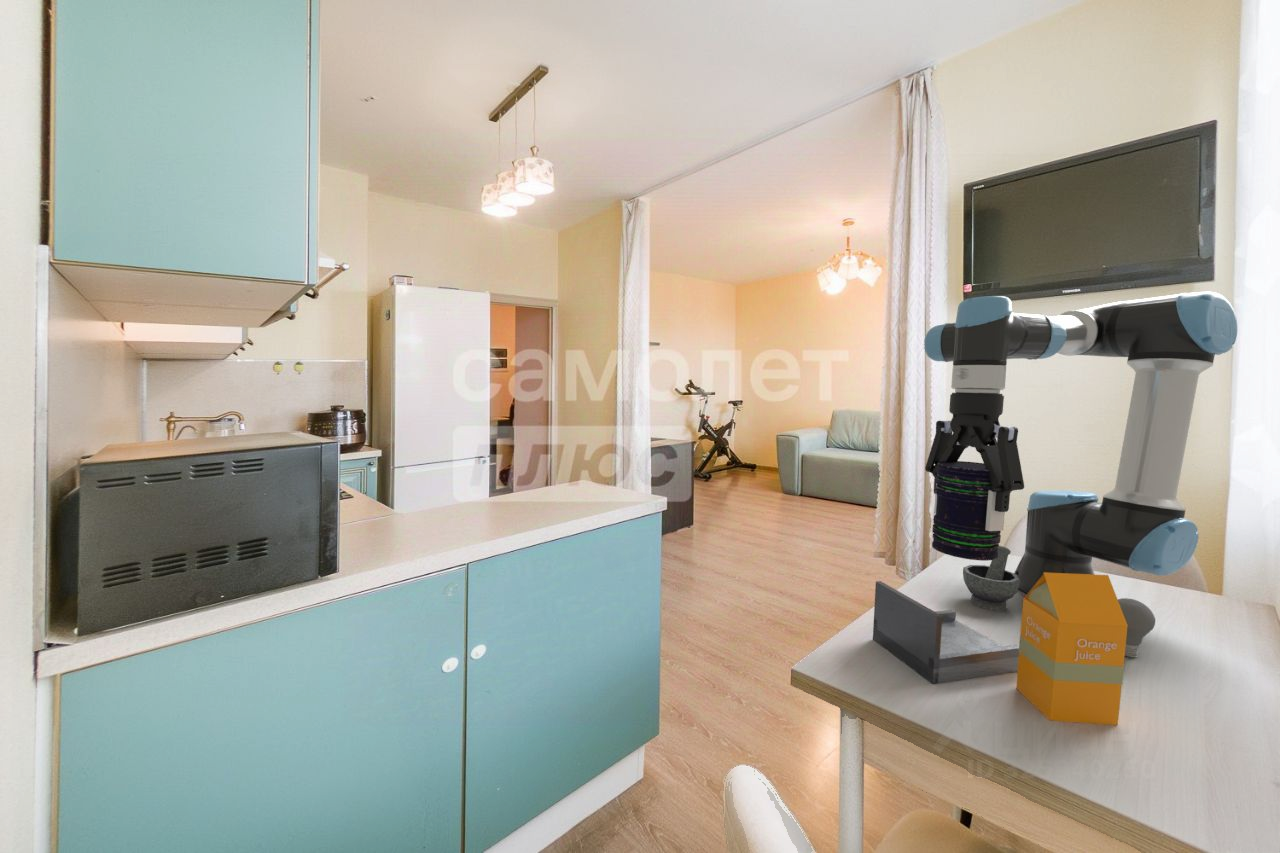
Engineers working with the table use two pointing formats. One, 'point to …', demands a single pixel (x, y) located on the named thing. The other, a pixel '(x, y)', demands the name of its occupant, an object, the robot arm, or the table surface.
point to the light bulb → (1136, 623)
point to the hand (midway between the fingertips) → (966, 521)
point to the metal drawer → (936, 640)
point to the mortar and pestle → (991, 582)
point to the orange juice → (1073, 648)
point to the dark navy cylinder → (963, 512)
